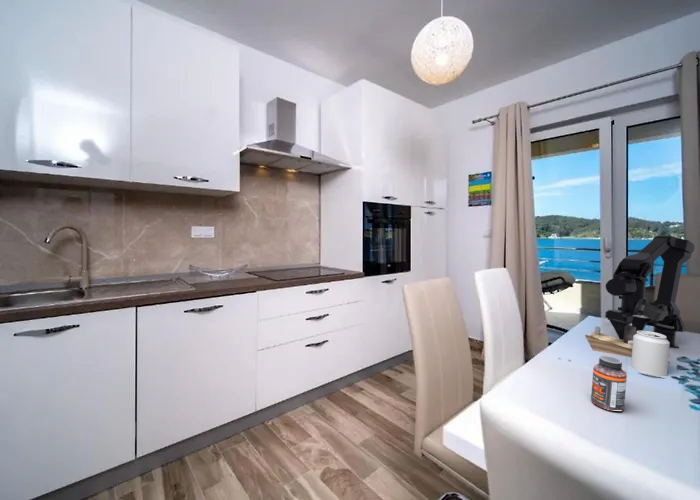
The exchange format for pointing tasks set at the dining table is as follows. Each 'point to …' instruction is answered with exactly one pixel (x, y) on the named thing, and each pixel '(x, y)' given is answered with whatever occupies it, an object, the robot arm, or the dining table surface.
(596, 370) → the supplement bottle
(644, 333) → the can
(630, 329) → the lever
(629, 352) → the keeper board
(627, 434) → the dining table surface
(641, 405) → the dining table surface
